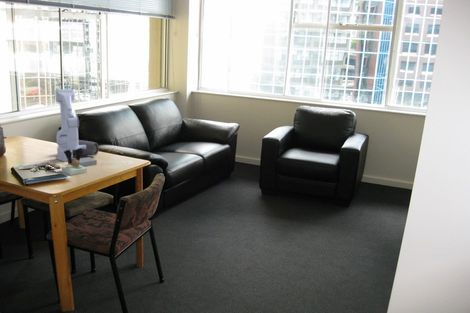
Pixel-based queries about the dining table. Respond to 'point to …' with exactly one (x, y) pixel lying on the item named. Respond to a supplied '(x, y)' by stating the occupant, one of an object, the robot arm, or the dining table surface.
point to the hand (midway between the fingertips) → (73, 162)
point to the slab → (87, 161)
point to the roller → (74, 162)
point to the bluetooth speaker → (88, 148)
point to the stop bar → (53, 165)
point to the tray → (74, 169)
